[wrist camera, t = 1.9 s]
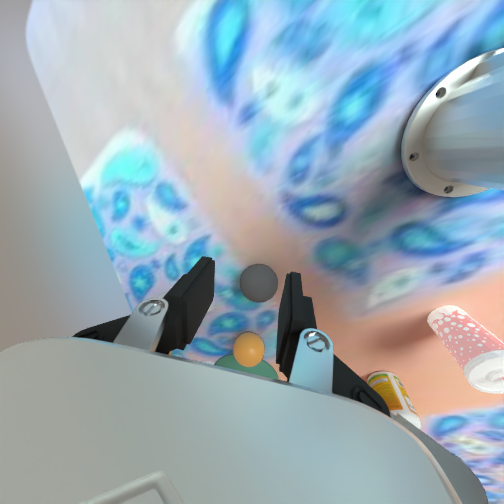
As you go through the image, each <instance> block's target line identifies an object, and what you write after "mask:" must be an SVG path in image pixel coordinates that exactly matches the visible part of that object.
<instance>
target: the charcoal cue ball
mask: <svg viewBox="0 0 504 504" xmlns="http://www.w3.org/2000/svg"><path fill="white" fill-rule="evenodd" d="M277 287H278V279H277V276H276V274H275V272H274V271H273V270H272V269H271V268H270V267H268V266H266V265H263V264H255V265H251V266H249V267H248V268H247V269H246V270H245V271H244V272H243V274H242V275H241V278H240V288H241V291H242V293H243V294H244V296H245V297H246V298H247V299H249V300H251V301H253V302H259V303H260V302H265V301H267V300H269V299H271V298H272V297H273V296H274V294H275V293H276V291H277Z"/></svg>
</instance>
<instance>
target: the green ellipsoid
mask: <svg viewBox="0 0 504 504" xmlns="http://www.w3.org/2000/svg"><path fill="white" fill-rule="evenodd" d="M215 365H216V366H221V367H225V368H229V369H234V370H238V371H243V372H247V373H251V374H255V375H260V376H264V377H268V378H273V379H277V380H278V375H277V373H276V371H275V370H274V369H273V368H272V366H270V365H269V364H268V363H267V362H265V361H264V360H261V361H260V363H258V364H257V365H256V366H253V367H245V366H242V365H240V364H239V363H238V362H237V360H236V359H235V357H234V354H230V355H226V356H224V357H222V358H220V359H219V360H218V361H217V362H216V364H215Z"/></svg>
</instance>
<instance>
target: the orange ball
mask: <svg viewBox="0 0 504 504" xmlns="http://www.w3.org/2000/svg"><path fill="white" fill-rule="evenodd" d="M264 352H265V347H264V343H263V341H262V339H261V338H260V337H259V336H258V335H257V334H255V333H252V332H246V333H243V334H241V335H240V336H239V337H238V338H237V339H236V341H235V343H234V347H233V353H234V357H235V359H236V360H237V362H238V363H239V364H240V365H242V366H245V367H253V366H256V365H257V364H258V363H260V361H261V360H262V358H263V356H264Z"/></svg>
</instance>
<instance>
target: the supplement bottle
mask: <svg viewBox="0 0 504 504" xmlns="http://www.w3.org/2000/svg"><path fill="white" fill-rule="evenodd" d="M367 383H368V385H369V386H370V387H372V388H373V389H374V390H375V391H376V392H377V393H378V394H379V395H380V396H381V397H382V398H383V399H384V401H385V402H386V404H387V406H388V408H389V411H390V412H392V413H393V414H394V415H396V414H397V413H398V414H400V415H401V416H402V417H404V418H405V419H406V420H408V421H409V422H410V423H412V424H413V425H414V426H416V427H417V428H418V429H420V430H421V421H420V419H419V417H418V415H417V413H416V411H415V409H414V407H413V405H412V403H411V401H410V399H409V397H408V395H407V393H406V391H405V389H404V387H403V385H402V383H401V381H400V380H399V378H398V377H397V376H396V375H395V374H393V373H391V372H387V371H379V372H375V373H373V374H371V375H370V376H369V377H368V379H367Z"/></svg>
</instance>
